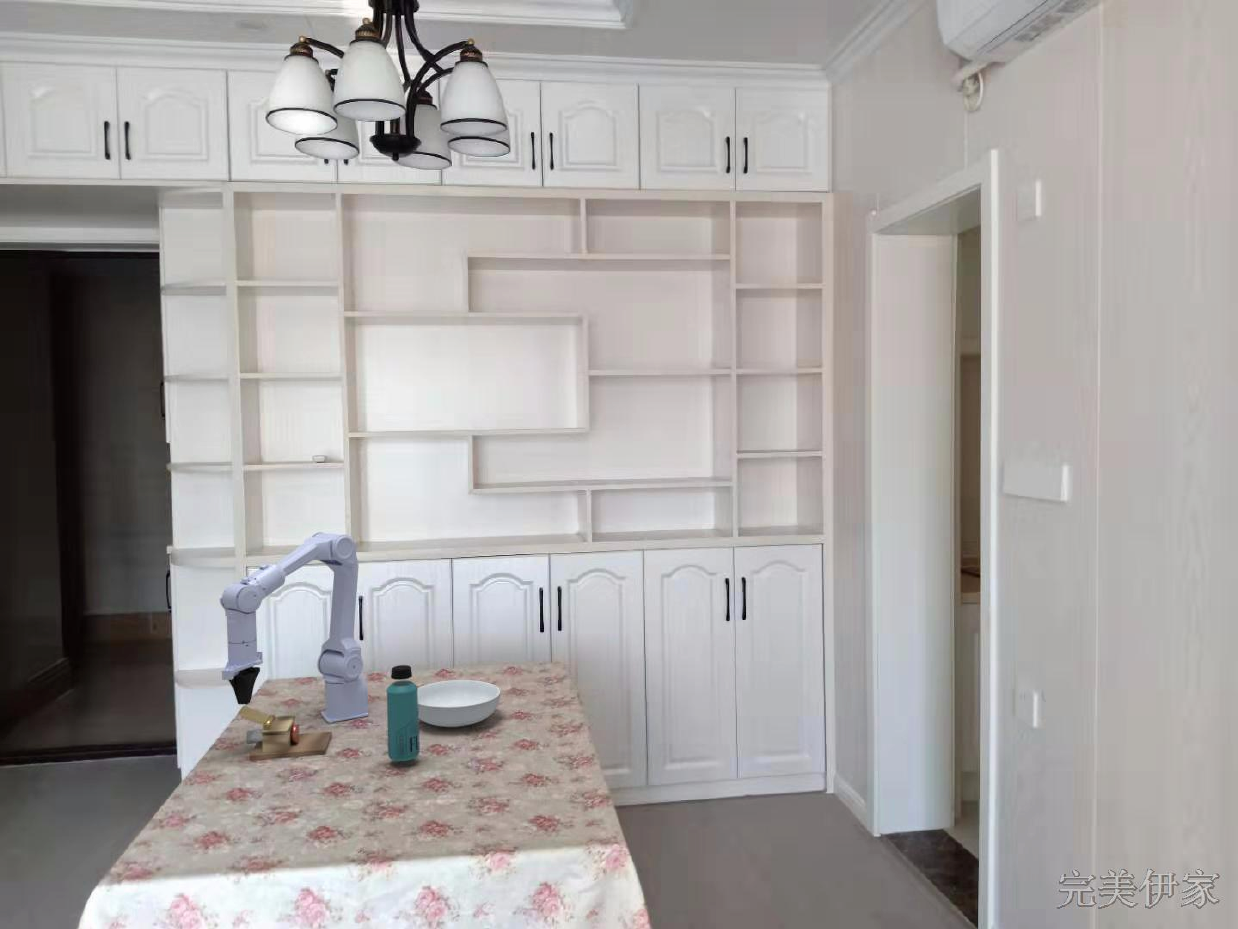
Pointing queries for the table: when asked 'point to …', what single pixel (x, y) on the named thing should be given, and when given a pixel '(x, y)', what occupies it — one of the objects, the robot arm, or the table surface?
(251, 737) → the pin
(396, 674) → the beverage bottle
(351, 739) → the table surface
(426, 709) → the serving bowl
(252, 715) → the brass hinge flap
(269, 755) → the hitch block
